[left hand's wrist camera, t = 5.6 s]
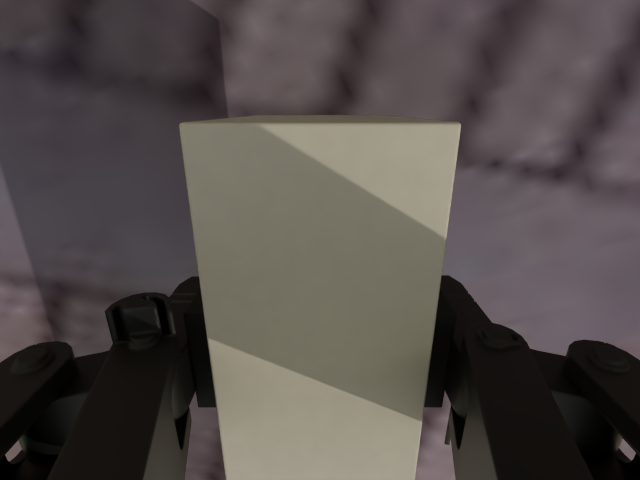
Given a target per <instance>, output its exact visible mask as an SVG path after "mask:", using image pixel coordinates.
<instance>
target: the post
mask: <svg viewBox="0 0 640 480" xmlns="http://www.w3.org/2000/svg"><path fill="white" fill-rule="evenodd" d="M179 130H180V137H181V145H182V152H183V160H184V167H185V175H186V182H187V190H188V197H189V205H190V212H191V220H192V227H193V235H194V242H195V250H196V258H197V265H198V273H199V280H200V288H201V295H202V303H203V310H204V318H205V325H206V333H207V340H208V348H209V355H210V363H211V370H212V378H213V385H214V393H215V400H216V408H217V415H218V423H219V430H220V438H221V445H222V453H223V460H224V468H225V476H226V480H415V473H416V466H417V458H418V451H419V443H420V435H421V428H422V420H423V412H424V405H425V397H426V389H427V382H428V374H429V367H430V359H431V351H432V344H433V336H434V328H435V321H436V313H437V305H438V298H439V290H440V283H441V275H442V267H443V260H444V252H445V244H446V237H447V229H448V222H449V214H450V206H451V199H452V191H453V183H454V176H455V168H456V160H457V153H458V145H459V138H460V130H461V124H460V123H458V122H450V121H439V120H428V119H417V118H406V117H395V116H384V115H258V116H247V117H236V118H225V119H215V120H204V121H193V122H182V123H180V124H179Z"/></svg>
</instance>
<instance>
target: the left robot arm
mask: <svg viewBox="0 0 640 480" xmlns="http://www.w3.org/2000/svg"><path fill="white" fill-rule="evenodd" d="M105 314H106V318H107V322H108V326H109V330H110V334H111V337H112V341H113V345H112V347H111V349H110V350H109V351H106V352H102V353H97V354H91V355H86V356H81V357H76V358H75V357H74V353H73V350H72V347H71V346H70V345H68V344H67V343H64V342H57V341H55V342H46V343H39V344H37V345H32V346H29V347H27V348H25V349H23V350H21V351H19V352H16V353H14V354H13V355H11V356H10V357H8V358H7V359H5V360H4V361H2V362H1V363H0V480H184V478H185V470H186V462H187V453H188V445H189V437H190V429H191V414H190V408H189V405H190V402H191V400H192V398H193V395H194V393H195V391H196V395H197V401H198V407H216V400H215V393H214V385H213V378H212V370H211V363H210V355H209V348H208V340H207V333H206V325H205V318H204V310H203V303H202V295H201V288H200V280H199V277H190V278H189V279H187V280H186V281H184V282H182V283H181V284H179V286H178V287H177V288H176V289H175V291H174V292H173V293H172V295H171V296H170V297H168V296H166V295H165V294H161V293H141V294H136V295H132V296H129V297H126V298H123V299H121V300H119V301H117V302H115V303H114V304H112V305H111V306H110V307H109V308H108V309H107V310H106V311H105ZM444 391H446V393H447V395H448V398H449V400H450V402H451V408H450V414H449V420H448V425H447V431H446V437H445V444H447V445H449V444H450V438H451V444H452V453H453V461H454V469H455V477H456V480H640V360H639V359H637V358H635V357H634V356H632V355H631V354H629V353H628V352H626V351H624V350H622V349H619V348H617V347H615V346H614V345H611V344H608V343H604V342H600V341H591V340H579V341H574V342H573V343H572V344H570V345H569V348H568V351H567V354H566V356H562V355H557V354H552V353H547V352H542V351H537V350H533V349H530V348H529V346H528V344H527V342H526V341H525V340H524V339H523V337H522V336H521V335H519V334H518V333H516V332H515V331H513V330H512V329H509V328H507V327H505V326H502V325H499V324H494V323H492V322H491V321H490V320H489V318H488V317H487V316H486V314H485V313H484V312H483V311H482V309H481V308H480V307H479V306H478V304H477V303H476V302H474V299H473V298H472V297H471V295H470V294H468V291H467V290H466V289H465V288H464V286H463V285H462V284H461V283H460V282H458V281H457V280H455V279H453V278H452V277H450V276H441V283H440V290H439V298H438V305H437V313H436V321H435V328H434V336H433V344H432V351H431V359H430V367H429V374H428V382H427V389H426V397H425V405H424V407H442V403H443V397H444ZM622 439H624V440H625V441H626V442H627V443H628V444H629V445H630V446H631V448H632V449H633V450H634V451H635V452H636V455H635V457H634V459H633V460H632V461H631V460H630V459H629V458H628V457H627V456H625V455H624V453H623V452H622V451H621V450H620V449H619V446H620V444H621V441H622ZM18 440H19V443H20V445H21V448H22V450H21V451H20V452H19V454H18V455H17V456H16V457H15V458H14V459H12V460H11V461H10V462H9V461H8V460H7V458H6V456H5V454H6V453H7V452H8V451H9V450H10V448H11V447H12V446H13V445H14V444H15V443H16V442H17V441H18Z"/></svg>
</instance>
